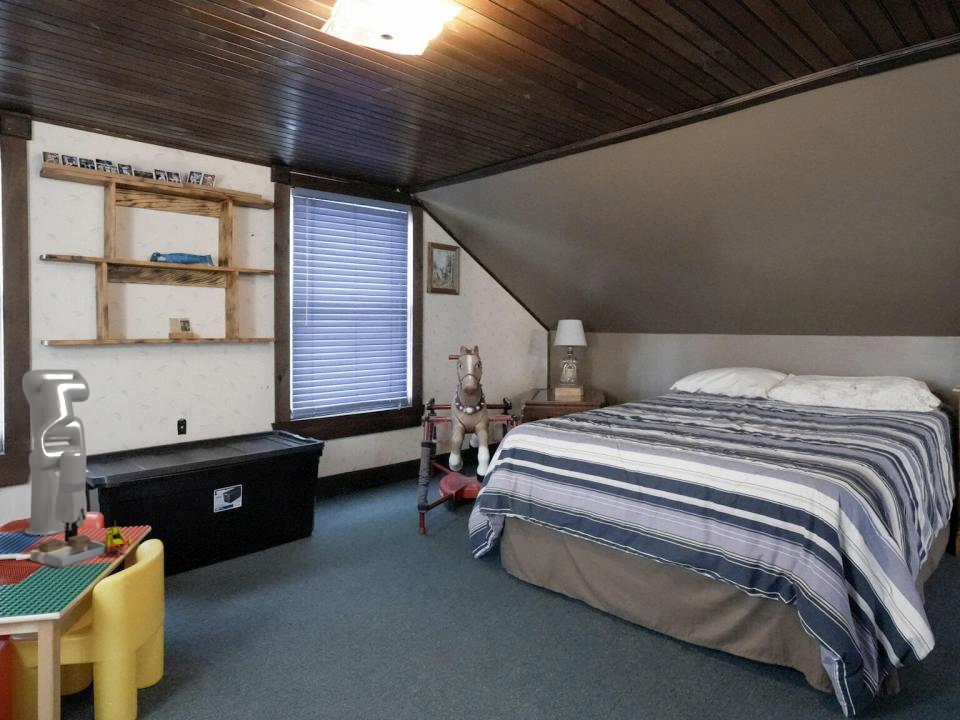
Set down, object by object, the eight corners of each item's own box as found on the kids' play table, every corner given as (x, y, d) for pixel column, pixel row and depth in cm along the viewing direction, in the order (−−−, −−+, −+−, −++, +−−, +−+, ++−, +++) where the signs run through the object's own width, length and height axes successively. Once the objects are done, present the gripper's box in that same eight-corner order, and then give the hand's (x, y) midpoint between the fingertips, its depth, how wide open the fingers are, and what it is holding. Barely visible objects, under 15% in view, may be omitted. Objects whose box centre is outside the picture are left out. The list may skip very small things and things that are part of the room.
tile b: (38, 550, 198) (39, 542, 198) (53, 546, 202) (53, 538, 202) (47, 552, 196) (47, 544, 196) (61, 548, 200) (62, 540, 200)
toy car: (108, 559, 201) (109, 529, 200) (100, 543, 215) (100, 516, 214) (130, 556, 205) (131, 526, 205) (120, 540, 219) (121, 513, 218)
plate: (30, 560, 197) (30, 550, 197) (76, 546, 211) (76, 537, 211) (44, 564, 194) (44, 554, 194) (90, 550, 208) (90, 541, 208)
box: (44, 564, 194) (44, 553, 194) (90, 550, 208) (90, 540, 208) (59, 568, 191) (59, 557, 191) (104, 554, 205) (105, 543, 205)
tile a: (67, 544, 203) (68, 537, 203) (81, 540, 207) (82, 533, 207) (76, 548, 201) (77, 541, 201) (89, 545, 206) (90, 537, 205)
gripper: (46, 486, 205) (45, 540, 205) (75, 492, 199) (74, 547, 199) (69, 482, 212) (67, 534, 212) (97, 487, 206) (96, 541, 206)
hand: (71, 540), depth 206 cm, fingers closed
